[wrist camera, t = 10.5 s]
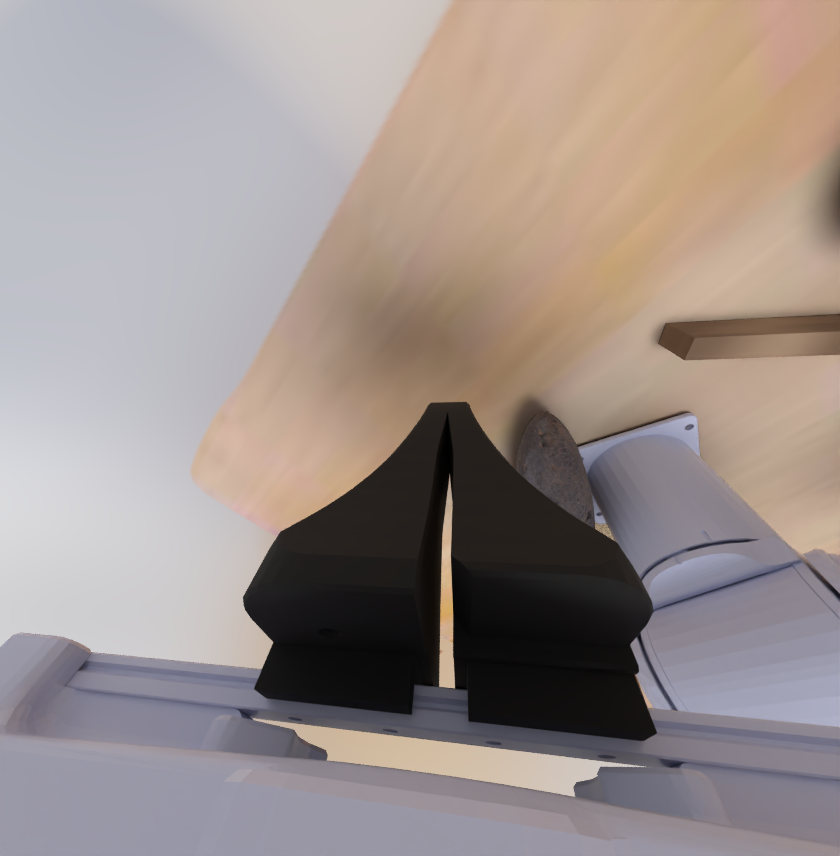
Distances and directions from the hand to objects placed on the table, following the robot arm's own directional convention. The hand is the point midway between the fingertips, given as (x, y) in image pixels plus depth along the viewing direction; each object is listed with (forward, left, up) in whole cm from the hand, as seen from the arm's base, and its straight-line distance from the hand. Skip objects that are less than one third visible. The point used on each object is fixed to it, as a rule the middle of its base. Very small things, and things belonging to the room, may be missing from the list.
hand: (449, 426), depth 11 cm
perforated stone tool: (-14, -2, -10) cm, 17 cm away
